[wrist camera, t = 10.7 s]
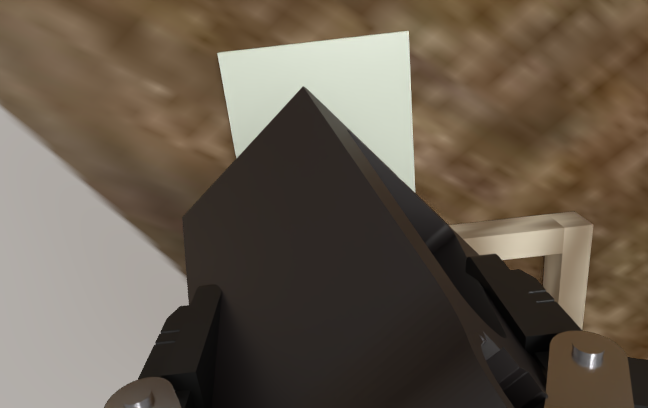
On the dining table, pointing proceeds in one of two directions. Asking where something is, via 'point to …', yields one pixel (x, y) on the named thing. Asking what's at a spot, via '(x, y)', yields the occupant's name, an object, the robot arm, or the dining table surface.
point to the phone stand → (343, 283)
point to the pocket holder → (542, 251)
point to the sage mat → (329, 90)
